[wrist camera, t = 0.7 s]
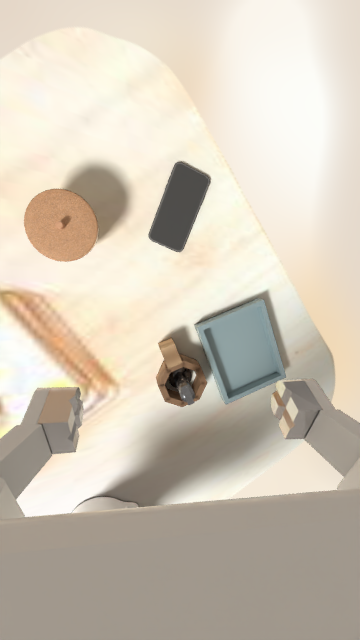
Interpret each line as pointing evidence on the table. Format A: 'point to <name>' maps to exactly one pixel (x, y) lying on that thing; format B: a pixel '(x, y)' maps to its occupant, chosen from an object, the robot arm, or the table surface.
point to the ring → (174, 363)
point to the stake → (182, 384)
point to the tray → (241, 350)
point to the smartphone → (179, 207)
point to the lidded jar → (61, 225)
